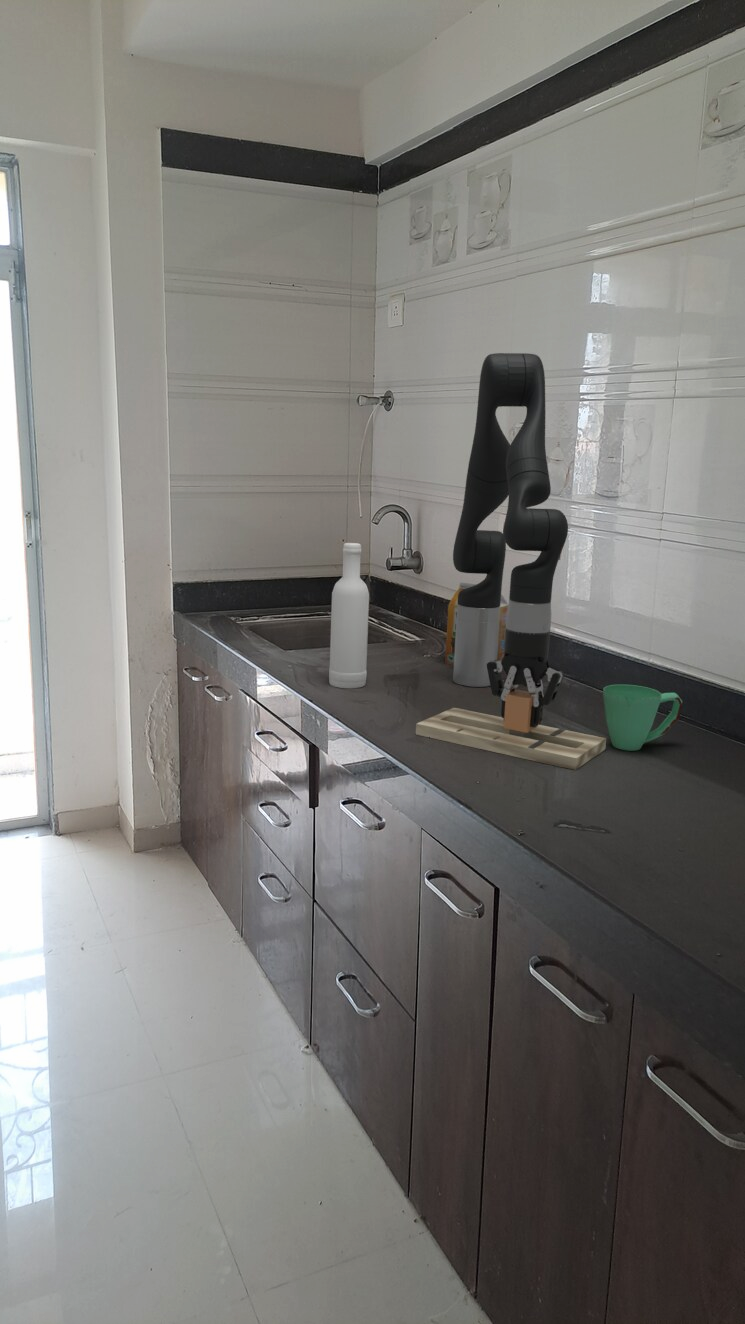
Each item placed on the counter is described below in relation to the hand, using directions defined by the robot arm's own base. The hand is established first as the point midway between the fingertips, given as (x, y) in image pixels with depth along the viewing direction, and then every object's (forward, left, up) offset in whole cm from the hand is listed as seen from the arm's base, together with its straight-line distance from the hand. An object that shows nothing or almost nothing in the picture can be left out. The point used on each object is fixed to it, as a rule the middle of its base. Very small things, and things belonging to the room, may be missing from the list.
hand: (520, 723), depth 165 cm
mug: (-13, +17, -4) cm, 22 cm away
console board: (0, -2, -4) cm, 4 cm away
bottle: (-15, -47, -4) cm, 49 cm away
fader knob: (0, 0, -4) cm, 4 cm away
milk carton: (-53, -36, -4) cm, 64 cm away
